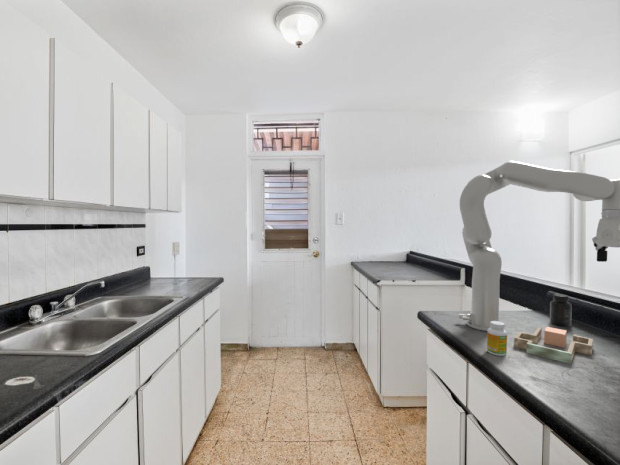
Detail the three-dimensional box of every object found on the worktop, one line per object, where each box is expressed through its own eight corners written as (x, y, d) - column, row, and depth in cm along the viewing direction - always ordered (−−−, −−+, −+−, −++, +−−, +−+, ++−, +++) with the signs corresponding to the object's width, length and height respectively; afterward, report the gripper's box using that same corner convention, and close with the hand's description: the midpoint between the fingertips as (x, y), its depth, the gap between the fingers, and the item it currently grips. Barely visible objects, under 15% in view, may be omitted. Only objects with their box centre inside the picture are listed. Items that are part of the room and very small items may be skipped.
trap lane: (511, 349, 102) (512, 340, 102) (525, 332, 117) (525, 324, 117) (589, 368, 89) (589, 358, 89) (592, 346, 104) (593, 338, 104)
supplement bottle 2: (567, 323, 128) (569, 294, 128) (573, 328, 122) (574, 298, 121) (547, 320, 131) (548, 292, 130) (552, 325, 125) (553, 296, 124)
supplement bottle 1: (499, 357, 96) (500, 326, 96) (483, 351, 101) (484, 321, 100) (510, 354, 99) (511, 324, 98) (493, 347, 103) (494, 319, 103)
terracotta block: (544, 343, 107) (544, 330, 107) (546, 339, 111) (546, 326, 111) (564, 348, 104) (565, 334, 103) (566, 343, 108) (566, 330, 107)
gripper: (584, 215, 118) (582, 260, 119) (629, 214, 101) (627, 267, 101) (604, 215, 118) (602, 260, 118) (653, 214, 100) (651, 267, 101)
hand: (614, 263), depth 110 cm, fingers open, 9 cm apart
